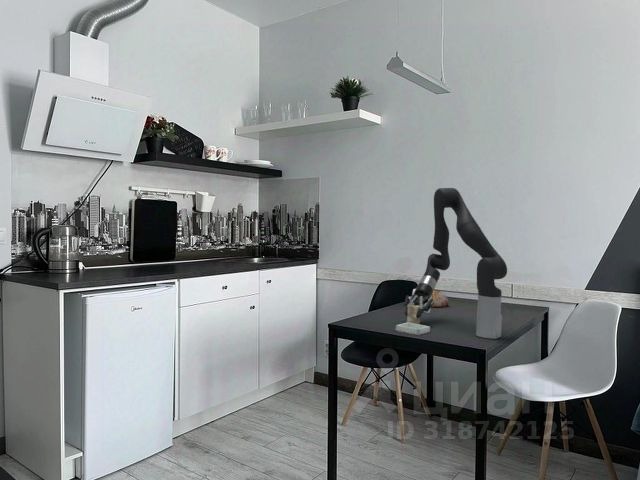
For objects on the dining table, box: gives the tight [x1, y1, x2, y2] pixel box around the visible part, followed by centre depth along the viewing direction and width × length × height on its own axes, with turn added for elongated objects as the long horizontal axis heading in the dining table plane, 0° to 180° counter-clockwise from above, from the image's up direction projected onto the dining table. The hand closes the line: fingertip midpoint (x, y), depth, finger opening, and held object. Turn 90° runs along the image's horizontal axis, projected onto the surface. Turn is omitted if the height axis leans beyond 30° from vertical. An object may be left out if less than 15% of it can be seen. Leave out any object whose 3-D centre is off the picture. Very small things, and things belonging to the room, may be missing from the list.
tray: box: [395, 321, 431, 336], centre depth 215 cm, size 11×10×2 cm
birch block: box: [406, 305, 421, 325], centre depth 227 cm, size 4×4×9 cm
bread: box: [431, 289, 449, 309], centre depth 288 cm, size 16×20×10 cm
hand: (411, 315), depth 225 cm, fingers open, 5 cm apart
